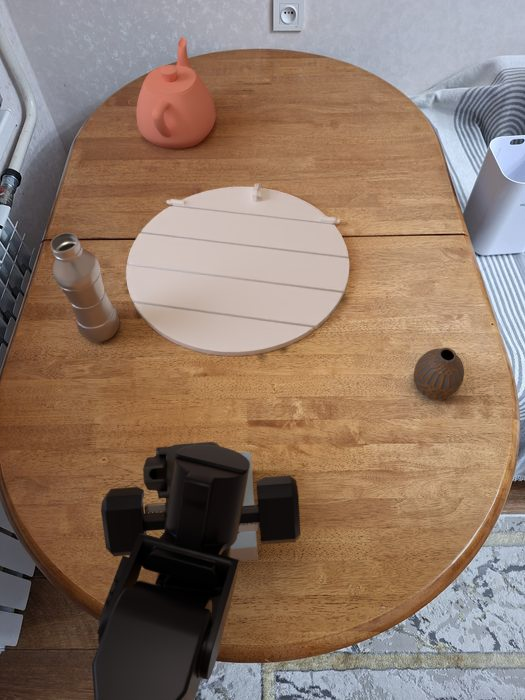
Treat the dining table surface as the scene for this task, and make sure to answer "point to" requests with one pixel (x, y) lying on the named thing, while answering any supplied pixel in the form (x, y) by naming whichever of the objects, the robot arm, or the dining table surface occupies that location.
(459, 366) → the vase
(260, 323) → the lazy susan
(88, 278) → the plastic bottle
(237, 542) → the cistern
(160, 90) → the teapot
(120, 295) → the dining table surface
